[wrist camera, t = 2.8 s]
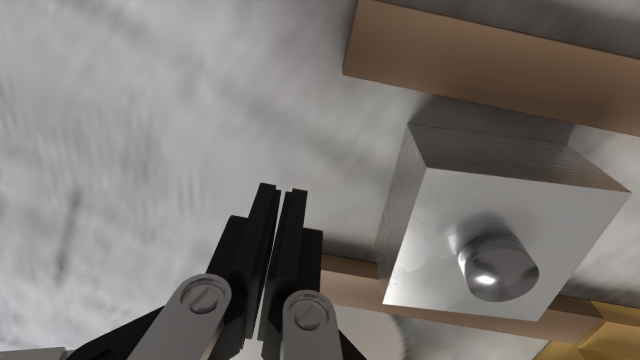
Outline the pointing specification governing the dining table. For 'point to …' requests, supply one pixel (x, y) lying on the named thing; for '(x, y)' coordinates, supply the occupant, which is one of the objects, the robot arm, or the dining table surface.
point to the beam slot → (509, 93)
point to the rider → (488, 222)
